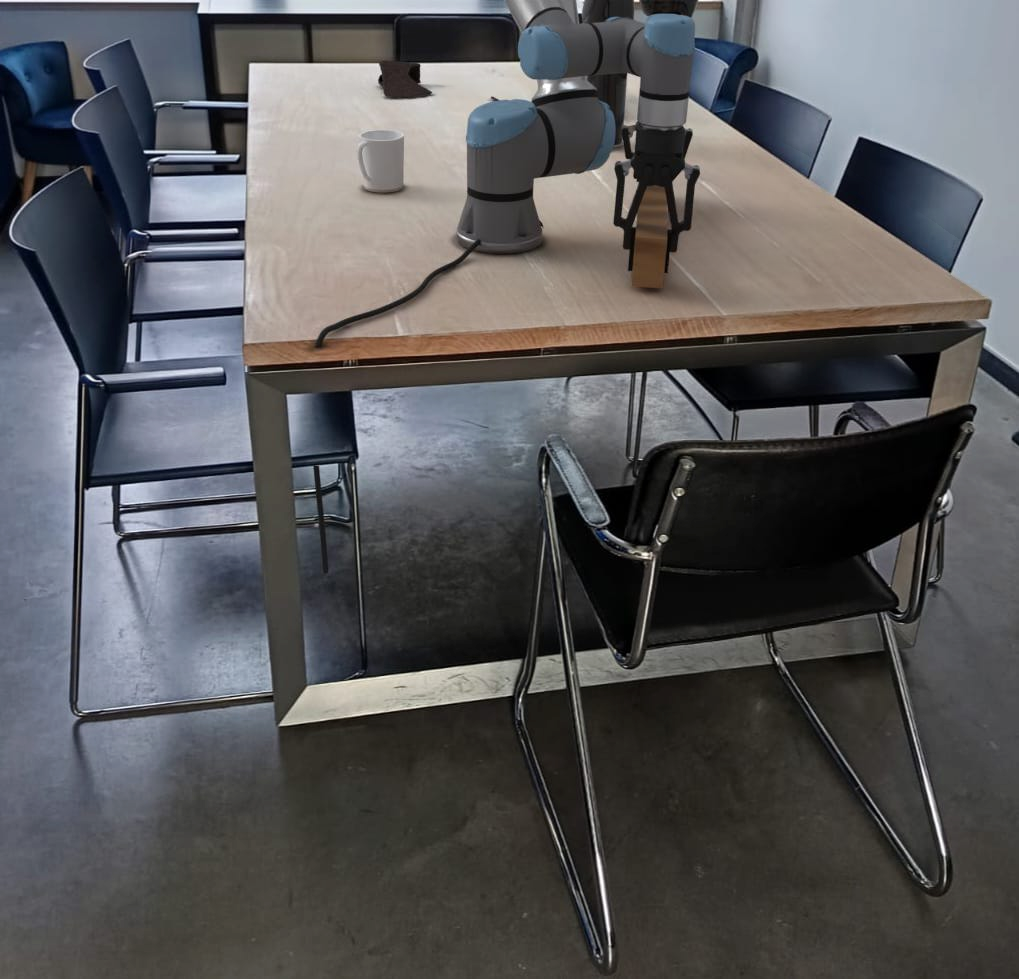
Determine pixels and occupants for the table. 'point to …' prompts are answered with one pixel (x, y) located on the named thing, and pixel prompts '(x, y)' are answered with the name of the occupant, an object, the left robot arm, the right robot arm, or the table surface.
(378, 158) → the mug
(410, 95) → the dark brown boot
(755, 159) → the table surface
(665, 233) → the brown wooden bar
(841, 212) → the table surface
